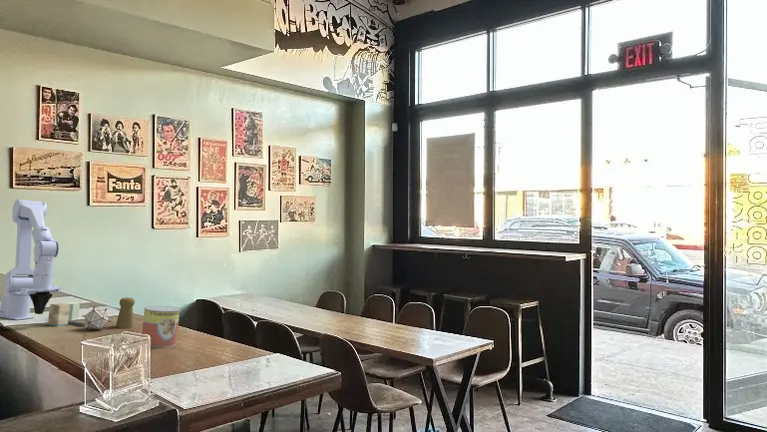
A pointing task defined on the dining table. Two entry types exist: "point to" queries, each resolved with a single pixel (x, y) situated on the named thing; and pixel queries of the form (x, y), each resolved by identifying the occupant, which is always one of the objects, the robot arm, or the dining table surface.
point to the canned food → (161, 325)
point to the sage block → (73, 310)
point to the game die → (96, 318)
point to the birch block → (58, 314)
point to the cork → (125, 313)
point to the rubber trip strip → (76, 323)
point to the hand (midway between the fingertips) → (38, 313)
